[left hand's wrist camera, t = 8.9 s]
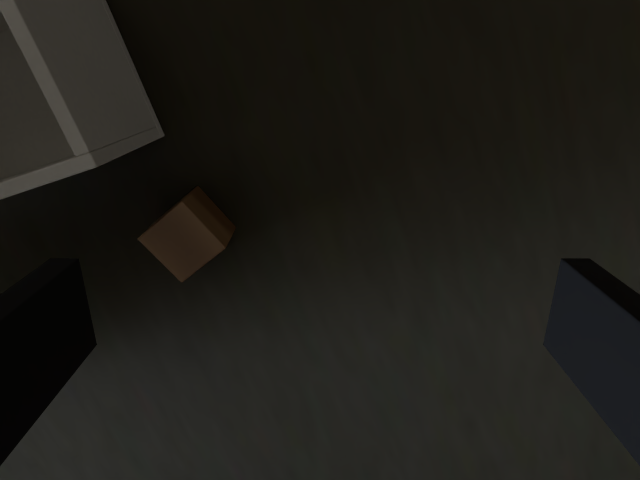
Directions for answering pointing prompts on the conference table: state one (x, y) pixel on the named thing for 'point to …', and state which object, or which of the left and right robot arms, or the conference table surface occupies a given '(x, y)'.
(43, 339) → the left robot arm
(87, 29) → the chest
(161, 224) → the block
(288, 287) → the conference table surface
